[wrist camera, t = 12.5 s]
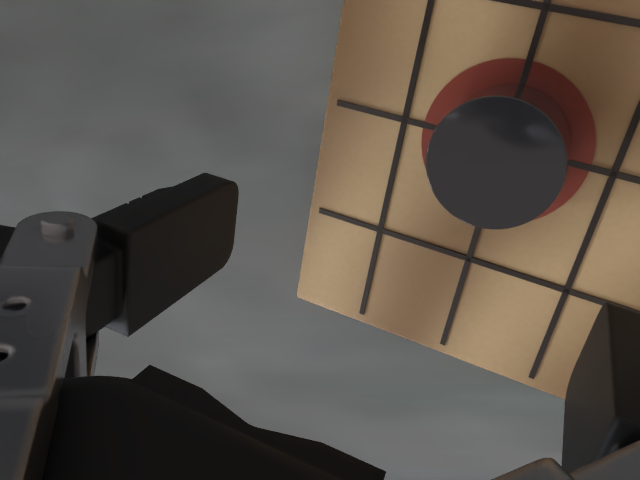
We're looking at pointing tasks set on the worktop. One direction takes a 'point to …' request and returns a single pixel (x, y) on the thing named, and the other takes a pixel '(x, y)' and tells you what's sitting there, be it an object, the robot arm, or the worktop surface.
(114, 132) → the worktop surface
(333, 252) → the grid board
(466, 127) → the dark grey short cylinder
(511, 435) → the worktop surface
